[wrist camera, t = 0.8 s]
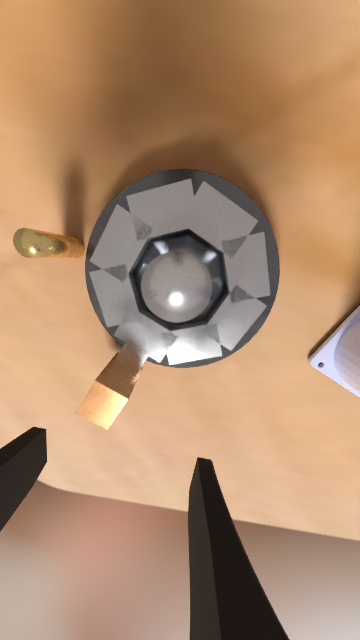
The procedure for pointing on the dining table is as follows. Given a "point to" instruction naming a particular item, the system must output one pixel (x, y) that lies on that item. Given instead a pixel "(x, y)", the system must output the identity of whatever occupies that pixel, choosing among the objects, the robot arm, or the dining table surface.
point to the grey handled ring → (147, 330)
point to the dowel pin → (46, 244)
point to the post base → (184, 264)
